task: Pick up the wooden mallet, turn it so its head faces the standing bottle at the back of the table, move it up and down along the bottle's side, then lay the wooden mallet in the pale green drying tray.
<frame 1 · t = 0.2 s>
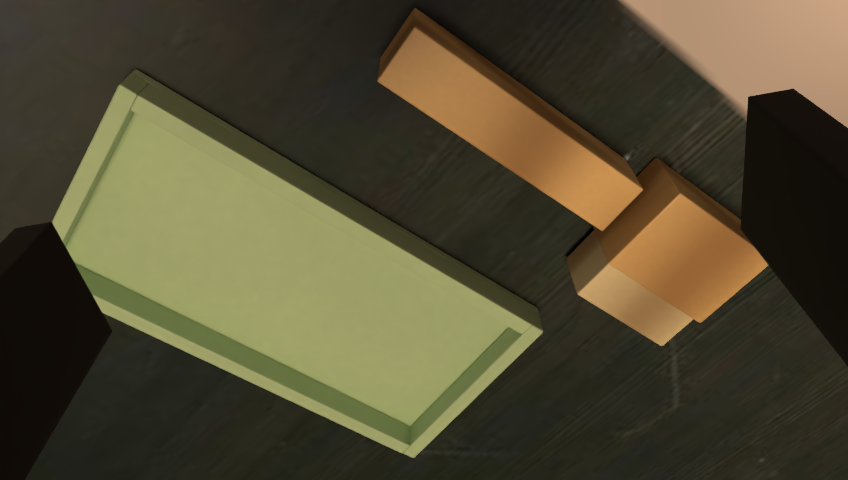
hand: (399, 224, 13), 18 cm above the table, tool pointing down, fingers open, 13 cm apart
tray: (298, 281, 35), on the table
wooden mallet: (508, 110, 31), on the table
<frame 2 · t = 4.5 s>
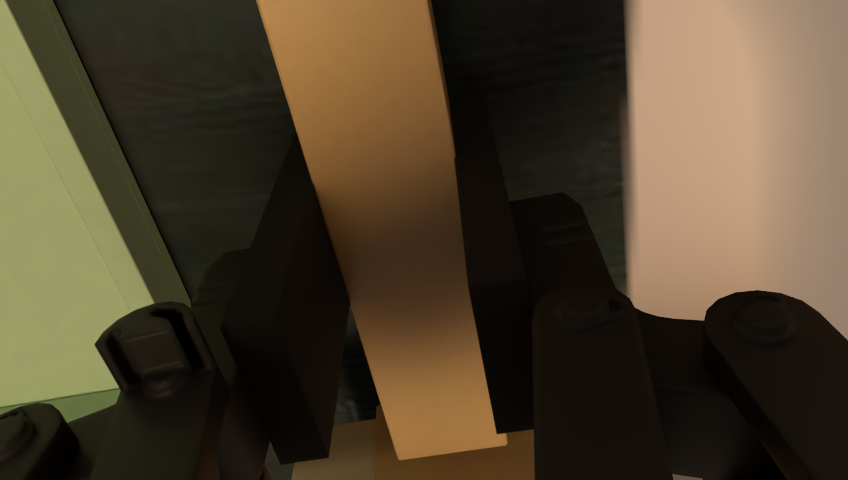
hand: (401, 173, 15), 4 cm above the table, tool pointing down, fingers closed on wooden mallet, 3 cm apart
wooden mallet: (401, 167, 15), point 4 cm above the table, touching gripper
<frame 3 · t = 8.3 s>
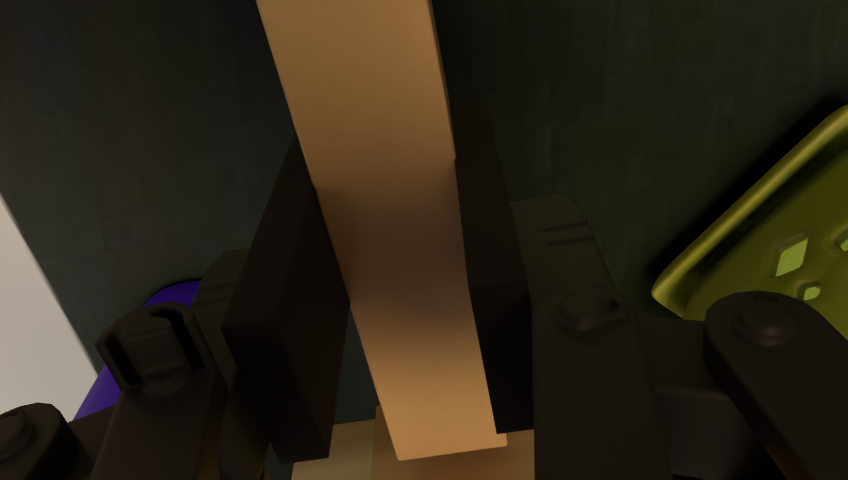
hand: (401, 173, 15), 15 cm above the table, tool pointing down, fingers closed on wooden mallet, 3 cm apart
flower pot: (803, 242, 34), on the table
wooden mallet: (401, 167, 15), point 15 cm above the table, touching gripper
bottle: (212, 334, 37), on the table
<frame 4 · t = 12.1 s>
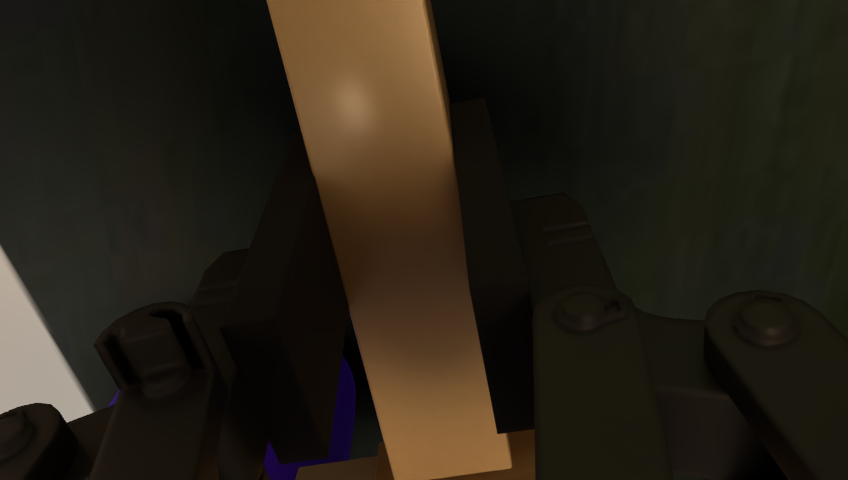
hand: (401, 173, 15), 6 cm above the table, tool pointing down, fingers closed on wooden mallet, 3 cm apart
wooden mallet: (404, 176, 15), point 6 cm above the table, tilted 10°, touching gripper
bottle: (257, 374, 26), on the table
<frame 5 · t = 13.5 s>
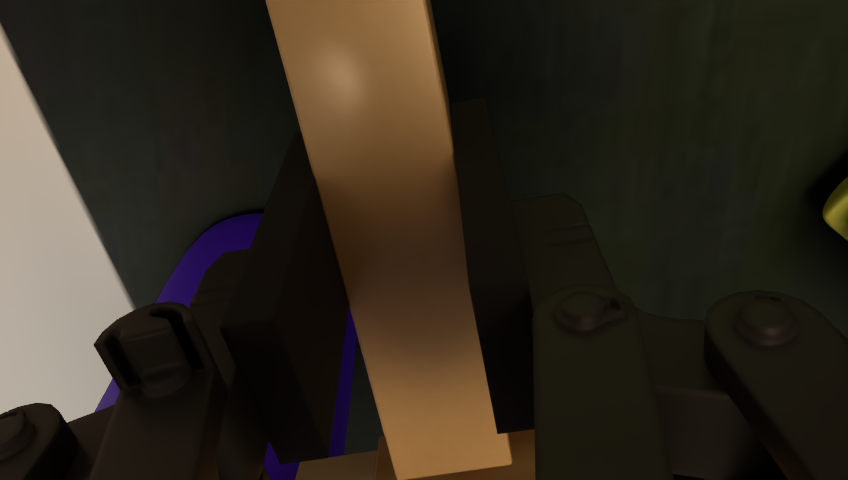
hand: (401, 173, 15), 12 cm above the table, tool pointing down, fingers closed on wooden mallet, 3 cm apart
wooden mallet: (404, 175, 15), point 12 cm above the table, tilted 9°, touching gripper
bottle: (273, 280, 31), on the table
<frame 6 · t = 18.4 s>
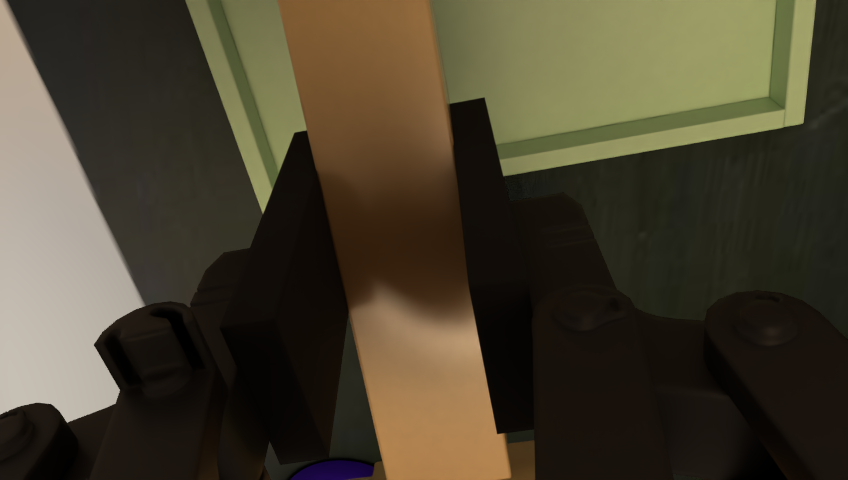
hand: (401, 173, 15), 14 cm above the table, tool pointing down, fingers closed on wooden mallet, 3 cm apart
tray: (500, 22, 27), on the table
wooden mallet: (406, 182, 16), point 14 cm above the table, tilted 16°, touching gripper
when the fingers open (1 cm above the table, at t = 23.0 s): wooden mallet stays where it is, resting on tray.
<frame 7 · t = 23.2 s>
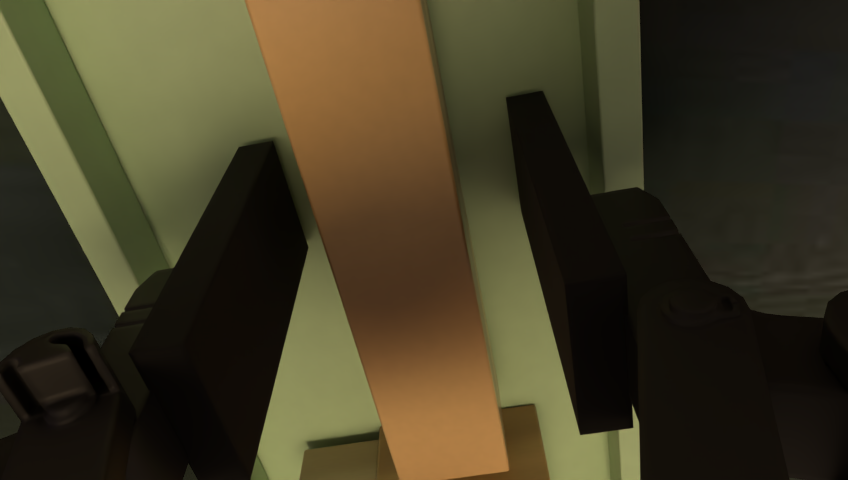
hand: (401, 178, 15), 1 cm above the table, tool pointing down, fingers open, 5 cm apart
tray: (393, 289, 17), on the table
wooden mallet: (404, 195, 15), resting on tray
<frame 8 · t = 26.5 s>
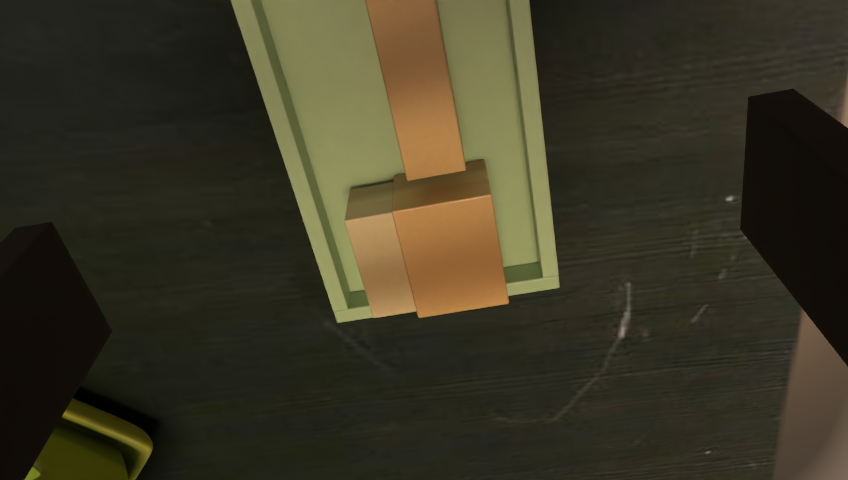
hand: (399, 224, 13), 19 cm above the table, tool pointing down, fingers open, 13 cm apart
tray: (402, 83, 31), on the table
flower pot: (39, 436, 43), on the table
wooden mallet: (408, 19, 29), resting on tray
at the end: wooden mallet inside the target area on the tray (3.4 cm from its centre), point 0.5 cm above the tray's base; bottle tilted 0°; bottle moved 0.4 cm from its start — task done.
